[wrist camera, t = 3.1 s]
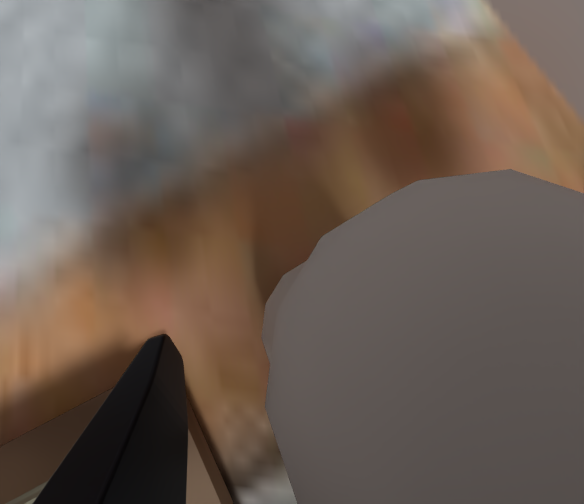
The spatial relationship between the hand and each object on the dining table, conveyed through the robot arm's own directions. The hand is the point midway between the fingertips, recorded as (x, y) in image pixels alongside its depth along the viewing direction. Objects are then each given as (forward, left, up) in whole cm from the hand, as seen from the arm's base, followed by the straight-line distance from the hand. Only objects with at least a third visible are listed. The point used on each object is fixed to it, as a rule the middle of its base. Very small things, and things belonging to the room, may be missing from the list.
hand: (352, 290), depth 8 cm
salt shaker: (-1, 0, -8) cm, 8 cm away
